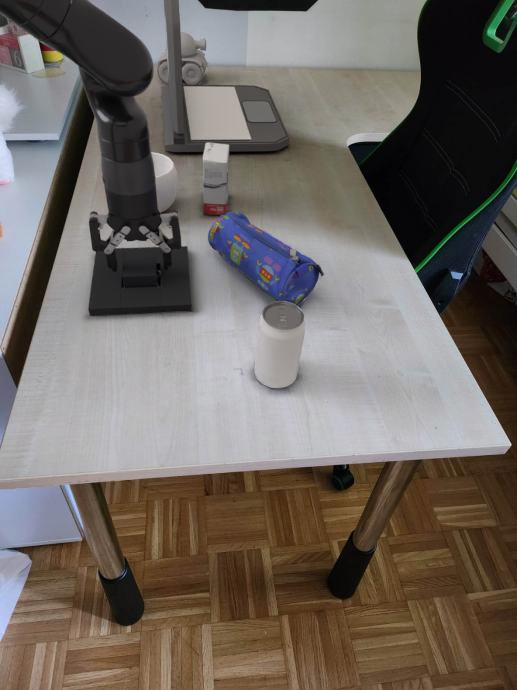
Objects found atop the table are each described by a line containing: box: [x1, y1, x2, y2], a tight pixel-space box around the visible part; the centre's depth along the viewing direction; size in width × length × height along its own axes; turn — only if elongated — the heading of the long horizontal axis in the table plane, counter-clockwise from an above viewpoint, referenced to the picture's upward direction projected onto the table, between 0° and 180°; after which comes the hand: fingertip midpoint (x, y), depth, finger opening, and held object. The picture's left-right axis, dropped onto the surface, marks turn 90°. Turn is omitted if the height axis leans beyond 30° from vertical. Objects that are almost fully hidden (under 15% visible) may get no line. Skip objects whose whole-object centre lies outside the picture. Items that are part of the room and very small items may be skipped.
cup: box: [151, 151, 179, 214], centre depth 104 cm, size 12×12×10 cm
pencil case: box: [207, 211, 325, 307], centre depth 90 cm, size 22×9×10 cm, turn 41°
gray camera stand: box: [160, 0, 290, 153], centre depth 128 cm, size 38×31×32 cm
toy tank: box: [156, 31, 209, 85], centre depth 154 cm, size 15×11×13 cm
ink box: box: [202, 143, 230, 216], centre depth 105 cm, size 9×5×12 cm, turn 179°
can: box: [253, 300, 307, 389], centre depth 73 cm, size 6×6×12 cm
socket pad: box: [87, 245, 193, 317], centre depth 90 cm, size 16×16×2 cm
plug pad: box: [122, 256, 158, 288], centre depth 89 cm, size 6×6×4 cm
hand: (140, 267), depth 88 cm, fingers open, 8 cm apart
